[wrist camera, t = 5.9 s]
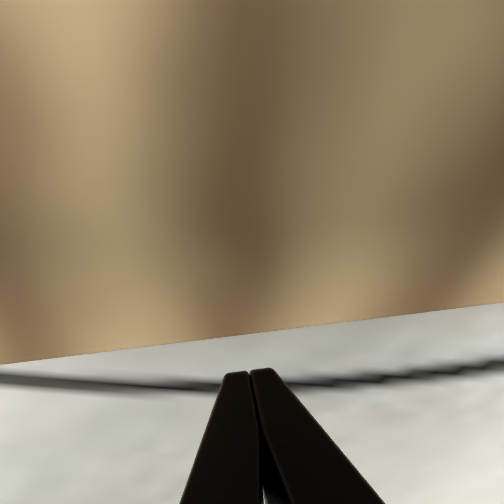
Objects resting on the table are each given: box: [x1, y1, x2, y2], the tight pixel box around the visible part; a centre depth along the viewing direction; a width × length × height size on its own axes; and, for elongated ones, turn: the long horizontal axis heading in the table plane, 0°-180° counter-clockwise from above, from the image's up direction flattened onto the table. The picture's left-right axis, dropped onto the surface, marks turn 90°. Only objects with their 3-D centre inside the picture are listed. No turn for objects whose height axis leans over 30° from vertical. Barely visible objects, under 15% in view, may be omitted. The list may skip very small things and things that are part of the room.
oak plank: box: [0, 0, 504, 365], centre depth 13 cm, size 22×10×2 cm, turn 92°
